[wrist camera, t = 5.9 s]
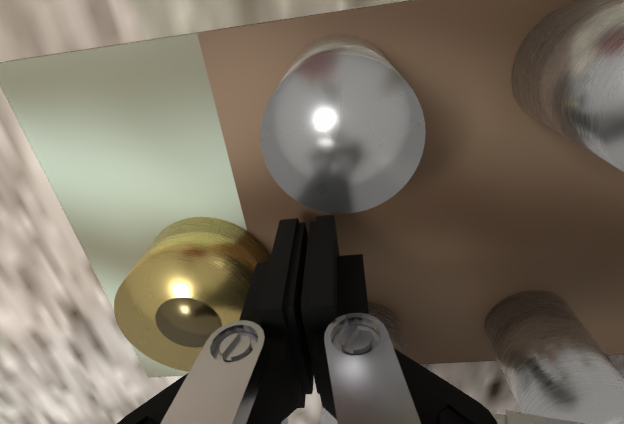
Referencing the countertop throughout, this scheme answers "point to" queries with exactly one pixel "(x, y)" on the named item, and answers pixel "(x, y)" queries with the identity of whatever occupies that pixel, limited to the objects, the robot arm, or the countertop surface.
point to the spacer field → (406, 156)
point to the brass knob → (187, 288)
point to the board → (350, 226)
